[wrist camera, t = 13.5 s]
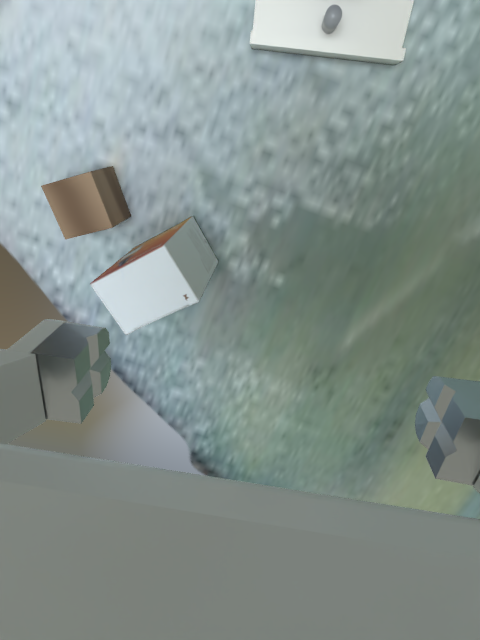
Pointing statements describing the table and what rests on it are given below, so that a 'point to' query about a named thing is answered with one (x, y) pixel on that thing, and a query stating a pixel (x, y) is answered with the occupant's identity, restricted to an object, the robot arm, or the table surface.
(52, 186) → the walnut block
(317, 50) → the peg board
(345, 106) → the table surface
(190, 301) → the small box
